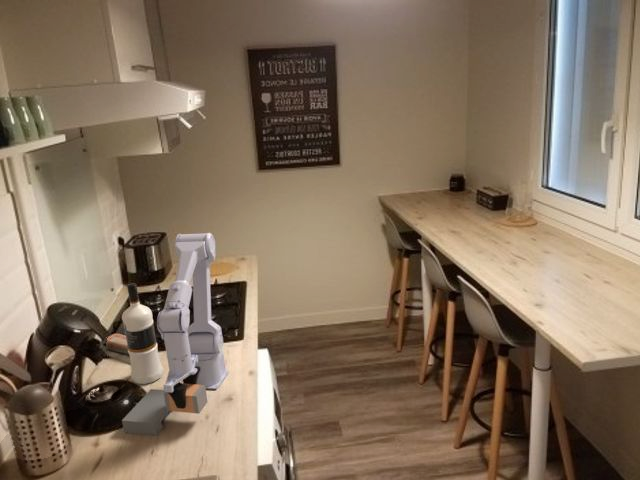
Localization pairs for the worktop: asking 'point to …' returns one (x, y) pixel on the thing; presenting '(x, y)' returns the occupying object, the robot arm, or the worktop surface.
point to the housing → (189, 399)
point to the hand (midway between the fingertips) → (186, 401)
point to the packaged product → (117, 347)
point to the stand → (147, 414)
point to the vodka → (141, 340)
